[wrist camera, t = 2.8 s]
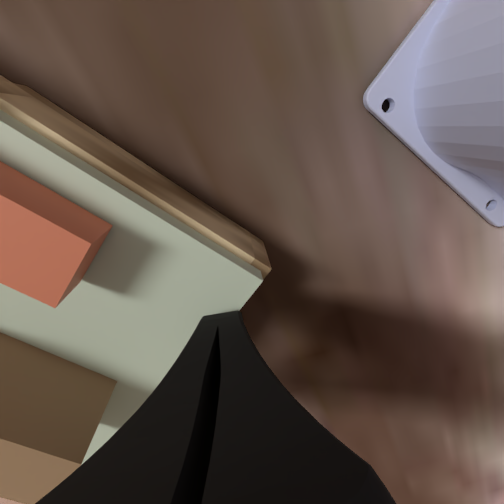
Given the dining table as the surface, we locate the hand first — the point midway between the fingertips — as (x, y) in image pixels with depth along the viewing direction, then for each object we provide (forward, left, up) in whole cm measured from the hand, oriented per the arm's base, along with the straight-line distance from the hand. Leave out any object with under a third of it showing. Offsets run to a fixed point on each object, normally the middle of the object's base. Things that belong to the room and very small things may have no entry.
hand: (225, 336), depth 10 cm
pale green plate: (+5, +5, -2) cm, 8 cm away
